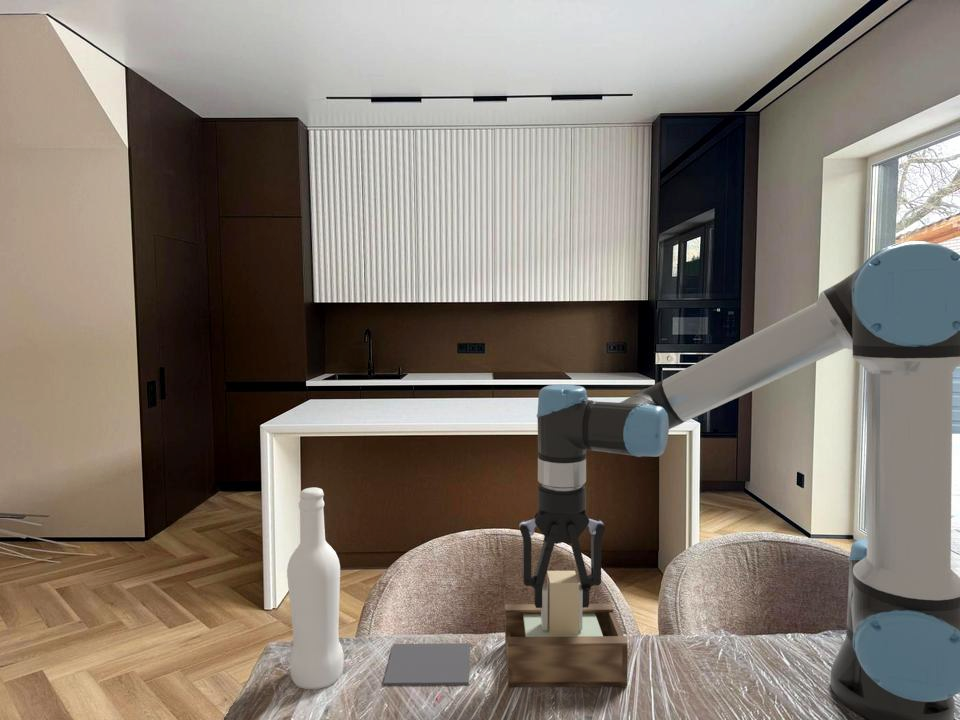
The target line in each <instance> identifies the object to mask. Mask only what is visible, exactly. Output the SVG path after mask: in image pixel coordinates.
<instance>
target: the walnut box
mask: <svg viewBox="0 0 960 720" xmlns="http://www.w3.org/2000/svg"><path fill="white" fill-rule="evenodd" d="M613 607H614V606H613V605H612V603H589V606H588V607H584V608H582V612H595V615H596V618H597V620H598V623H599V626H600V629H601V632H602V635H603V636H570V637H525V629H524V621H523V613H541V608H536V606H535V603H534V604H533V603H530V604H529V603H528V604H527V603H526V604H525V603H524V604H522V603H519V604H517V603H515V604H504V634H505V635H504V637H505V638H504V645H506V647H505V660H506V674H507V675H506V677H507V687H508V688H583V687H584V688H588V687H589V688H594V687H595V688H598V687H599V688H601V687H602V688H603V687H604V688H606V687H607V688H608V687H609V688H612V687H613V688H614V687H615V688H616V687H617V688H618V687H622V686H627V687H628V657H629V656H628V655H629V654H628V649H629V648H628V646H629V644H628V643H629V642H628V641H627V638H626V636H625V635H624V634H623V632H622V629H621V627H620V624H619V621H618V620H617V617H616V614H615V612H614V608H613ZM622 688H623V687H622Z"/></svg>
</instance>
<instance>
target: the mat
mask: <svg viewBox="0 0 960 720" xmlns="http://www.w3.org/2000/svg"><path fill="white" fill-rule="evenodd" d="M470 655H471V643H469V642H467V643H462V642H461V643H460V642H459V643H456V642H455V643H393V644H392V649H391V652H390V657H389V661H388V663H387V664H388V665H387V669H386V673H385V674H384V675H385V676H384V680H383V686H467V685H468V686H469V685H470V662H471V660H470V659H471V656H470Z"/></svg>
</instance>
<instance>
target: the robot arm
mask: <svg viewBox="0 0 960 720" xmlns="http://www.w3.org/2000/svg"><path fill="white" fill-rule="evenodd" d="M844 349H848V350H852V358H853V359H854V360H855V361H856V362H857V363H859V365H861V366H862V367H863V368H864V369H865V371H866V538H863V539H858V540H856V541H854V542H852V544H851V546H850V552H849V556H848V557H847V558H848V559H847V560H848V561H849V566H848V567H849V568H848V569H849V571H848V589H847V590H848V591H847V593H848V594H847V612H846V633H845V634H846V635H845V638H844V640H843V642H842V644H841V646H840V649H839V650H838V653H837V655H836V657H835V659H834V661H833V664H832V666H831V668H830V689H831V691H832V693H833V694H834V695H835V697H836V698H837V699H838V700H839V701H840V702H841V703H842V704H843V705H845V706H846V707H847V708H849V709H850V710H852V711H853V712H855V713H856V714H858V715H860V716H862V717H863V718H865V719H868V720H955V712H956V711H955V709H956V708H955V707H956V704H955V698H954V696H956V695H959V694H960V576H958V574H956V573H955V571H953V569H952V565H951V564H952V561H951V560H952V557H951V556H952V482H953V481H952V479H953V478H952V476H953V475H952V471H953V469H952V466H953V464H952V463H953V461H952V460H953V458H952V457H953V456H952V455H953V378H954V377H953V375H954V374H953V372H954V371H955V369H956V368H958V367H959V366H960V254H959V253H958V252H956V251H954V250H953V249H951V248H949V247H947V246H944V245H942V244H939V243H936V242H935V243H933V242H929V241H924V240H923V241H914V240H913V241H910V240H909V241H906V242H901V243H894V244H891V245H888V246H886V247H884V248H882V249H880V250H878V251H876V252H875V253H874V254H872V255H871V256H870V257H869V258H867V259H866V260H865V262H864V263H863V264H862V265H861V266H860V267H859V268H857V269H856V270H855V271H854V272H853V273H851V274H850V275H848V276H847V277H845V278H843V280H841V281H838V282H837V283H835V284H834V285H832V286H831V287H828V288H826V289H825V290H822V291H821V292H820V293H819V296H818V298H817V301H816V302H814V303H813V304H810V305H808V306H807V307H805V308H803V309H801V310H798V311H797V312H795V313H793V314H790V315H789V316H786V317H785V318H782V319H781V320H779V321H777V322H775V323H773V324H771V325H769V326H767V327H765V328H764V329H761V330H759V331H757V332H755V333H753V334H751V335H749V336H747V337H746V338H743V339H742V340H739V341H737V342H735V343H734V344H732V345H729V346H728V347H726V348H724V349H721V350H720V351H718V352H716V353H714V354H712V355H710V356H708V357H706V358H704V359H702V360H700V361H698V362H696V363H694V364H692V365H691V366H688V367H686V368H683V369H682V370H681V371H678V372H677V373H675V374H673V375H671V376H669V377H667V378H665V379H663V380H661V381H659V382H656V383H655V384H653V385H651V386H649V387H647V388H644V389H642V390H640V391H638V392H636V393H634V394H633V395H632V396H630V397H628V398H625V400H623V401H620V402H615V401H613V402H612V401H611V402H610V401H597V400H589V396H588V395H587V390H586V388H585V387H584V386H581V385H574V384H551V385H550V384H549V385H547V386H544V387H542V388H541V389H540V390H539V392H538V401H537V402H538V403H537V414H536V418H537V481H538V483H539V484H538V485H537V512H536V513H535V515H534V518H533V519H530V520H524V519H522V520H520V521H518V522H519V523H518V524H519V525H518V526H519V531H520V534H521V536H522V579H523V584H524V586H525V587H533V589H534V590H533V592H534V593H533V598H534V599H533V602H534V604H535V606H536V608H541V624H542V630H547V582H545V580H546V577H547V576H546V575H547V571H548V568H549V563H550V560H551V556H552V552H553V550H554V547H555V545H556V544H557V545H558V544H561V543H564V544H570V545H571V549H572V554H573V558H574V562H575V566H576V569H577V572H578V578H579V630H582V608H584V607H588V606H589V604H590V590H591V587H593V586H600V585H601V584H602V539H603V536H604V534H605V531H606V527H605V525H604V522H603V521H602V520H601V519H596V520H595V519H592V518H589V516H588V514H587V487H586V486H585V484H586V482H587V450H588V451H593V452H595V451H596V452H603V453H610V454H617V455H618V454H620V455H627V456H634V457H636V458H642V457H652V458H655V457H656V458H657V457H660V456H662V455H663V454H664V452H665V450H666V448H667V447H666V446H667V445H668V441H669V430H671V429H673V428H675V427H678V426H680V425H681V424H683V423H685V422H688V421H690V420H691V419H694V418H695V417H698V416H700V415H703V414H705V413H707V412H709V411H711V410H713V409H715V408H718V407H720V406H722V405H724V404H726V403H728V402H730V401H731V402H732V401H733V400H735V399H738V398H740V397H742V396H745V395H746V394H748V393H750V392H752V391H755V390H757V389H759V388H761V387H764V386H765V385H768V384H770V383H772V382H774V381H776V380H780V379H781V378H784V377H786V376H787V375H790V374H791V373H793V372H796V371H798V370H800V369H802V368H804V367H805V368H806V366H809V365H811V364H814V363H815V362H816V363H817V362H818V361H819V360H822V359H825V358H826V357H828V356H831V355H833V354H835V353H837V352H839V351H842V350H844ZM587 527H588V531H589V534H590V574H588V573H587V569H586V565H585V561H584V558H583V554H582V549H581V545H580V541H579V538H580V536H581V535H582V534H583V533H584V532H585V529H586V528H587ZM536 528H538V529H539V531H540V532H541V533H542V535H543V536H544V537H543V542H542V545H541V549H540V555H539V558H538V562H537V566H536V570H535V574H534V575H533V574H532V537H531V536H533V535H534V534H535V529H536Z"/></svg>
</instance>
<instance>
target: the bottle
mask: <svg viewBox="0 0 960 720" xmlns="http://www.w3.org/2000/svg"><path fill="white" fill-rule="evenodd" d="M324 496H325V493H324V491H323V489H322V488H320V487H307V488H304V489H302V490H301V491H300V494H299V498H300V500H299V502H298V509H299V533H300V534H299V536H300V537H299V544H298V546H297V548H295V550H294V551H293V553H292V555H291V556H290V557H289V559H288V563H287V568H286V569H287V570H286V578H287V586H288V596H289V607H290V614H291V615H290V617H291V625H292V626H291V627H292V635H293V646H292V651H291V654H290V657H289V667H290V668H289V669H290V670H289V671H290V676H291V680H292V681H293V683H294V684H295V686H297V687H298V688H301V689H303V690H319V689H324V688H326V687H329V686H331V685H333V684H334V683H336V682H337V681H338V680H339V679H340V677H341V676H342V674H343V669H344V664H345V663H344V661H345V660H344V657H345V656H344V651H343V647H342V644H341V642H340V638H339V637H340V636H339V621H340V619H339V618H340V616H339V615H340V595H341V594H340V592H341V591H340V590H341V589H340V588H341V565H340V564H341V563H340V559H339V557H338V555H337V552H336V550H334V549H333V547H332V546H331V545H330V544H329V543H328V542H327V540H326V533H325V531H326V529H325V513H324V511H325V510H324V507H325V501H324Z"/></svg>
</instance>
